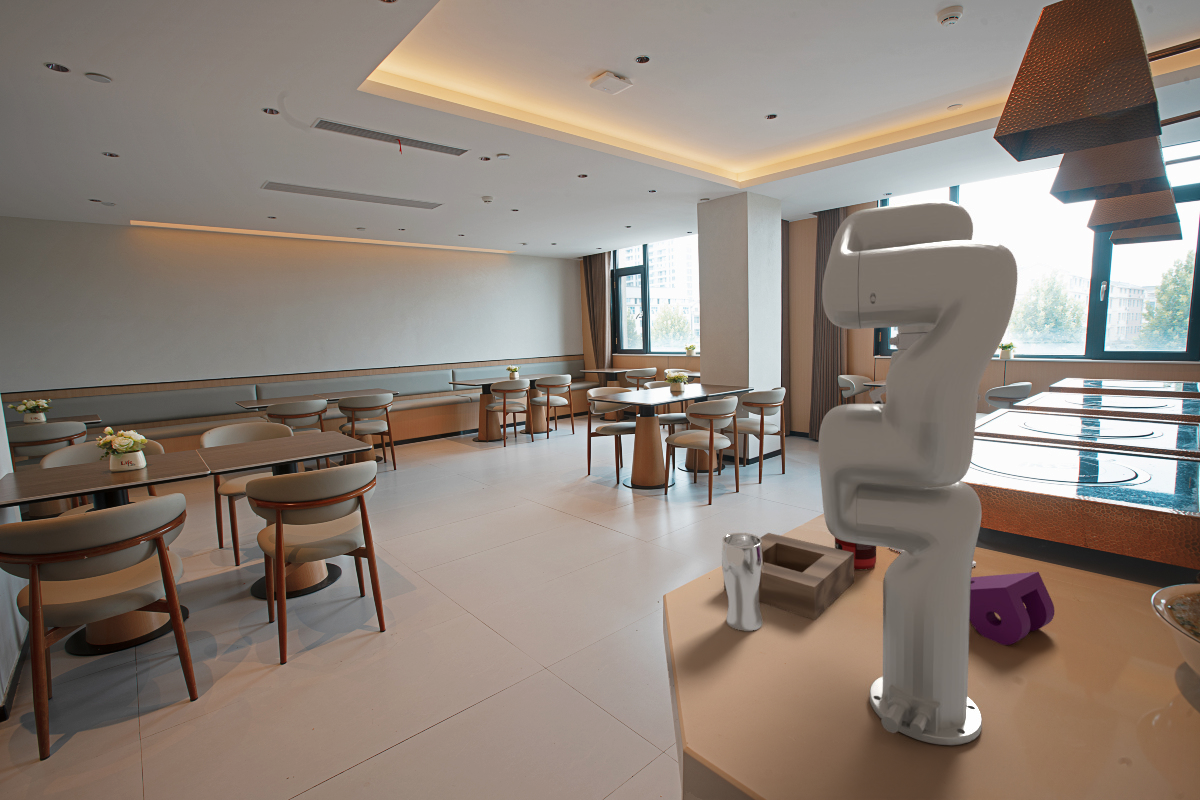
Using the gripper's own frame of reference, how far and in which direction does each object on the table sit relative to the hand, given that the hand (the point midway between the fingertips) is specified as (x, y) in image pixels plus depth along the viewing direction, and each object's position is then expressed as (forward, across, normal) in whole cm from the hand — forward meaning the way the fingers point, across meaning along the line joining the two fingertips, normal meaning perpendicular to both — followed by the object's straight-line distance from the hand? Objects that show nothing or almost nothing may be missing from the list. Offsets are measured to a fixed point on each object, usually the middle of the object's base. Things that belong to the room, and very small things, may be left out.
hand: (921, 440), depth 97 cm
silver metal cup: (+30, -19, -28) cm, 45 cm away
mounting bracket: (+30, +9, -2) cm, 31 cm away
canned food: (+29, -14, +8) cm, 33 cm away
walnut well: (+29, -20, -11) cm, 37 cm away
